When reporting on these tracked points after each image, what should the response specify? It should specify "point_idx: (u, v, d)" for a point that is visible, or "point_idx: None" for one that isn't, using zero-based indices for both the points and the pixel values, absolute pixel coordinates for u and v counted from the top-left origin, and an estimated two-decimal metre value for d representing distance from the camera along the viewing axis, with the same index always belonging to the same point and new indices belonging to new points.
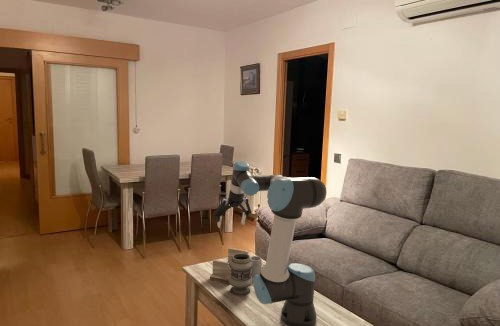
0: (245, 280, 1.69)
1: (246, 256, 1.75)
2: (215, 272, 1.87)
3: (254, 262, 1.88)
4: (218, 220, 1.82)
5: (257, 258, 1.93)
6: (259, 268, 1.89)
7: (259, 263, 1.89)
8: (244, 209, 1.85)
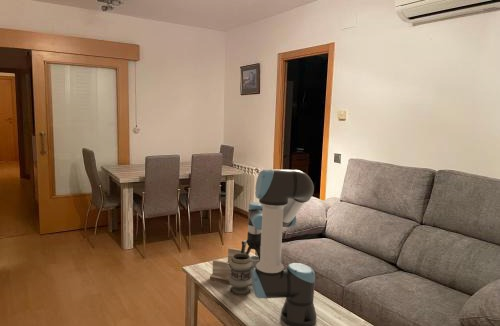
0: (245, 280, 1.69)
1: (246, 256, 1.75)
2: (215, 272, 1.87)
3: (253, 262, 1.88)
4: None
5: (256, 258, 1.94)
6: None
7: None
8: (259, 256, 1.86)
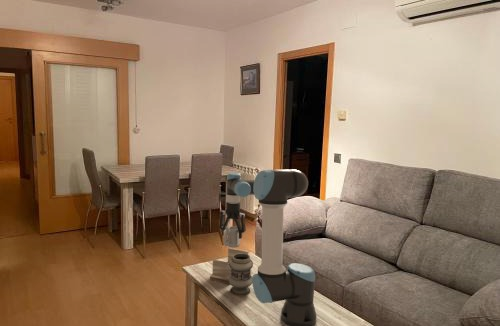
0: (245, 280, 1.69)
1: (246, 256, 1.75)
2: (215, 272, 1.87)
3: (232, 231, 1.91)
4: (223, 234, 1.94)
5: (235, 228, 1.96)
6: None
7: (237, 232, 1.92)
8: (238, 225, 1.89)
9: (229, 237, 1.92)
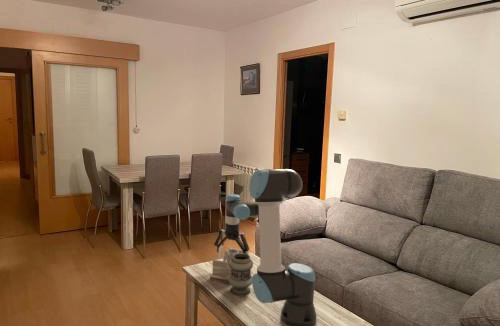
0: (245, 280, 1.69)
1: (246, 256, 1.75)
2: (215, 272, 1.87)
3: (231, 255, 1.92)
4: (218, 250, 1.96)
5: (234, 251, 1.98)
6: None
7: None
8: (240, 245, 1.90)
9: (228, 260, 1.93)
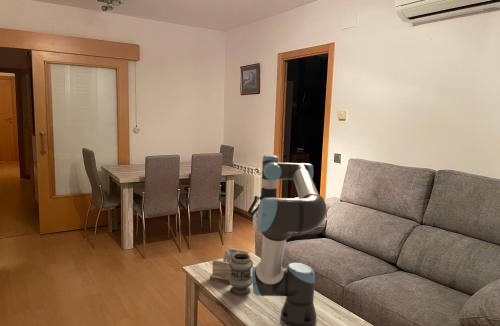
0: (245, 280, 1.69)
1: (246, 256, 1.75)
2: (215, 272, 1.87)
3: (231, 255, 1.93)
4: (252, 219, 1.75)
5: (235, 251, 1.98)
6: None
7: None
8: None
9: (228, 260, 1.94)
